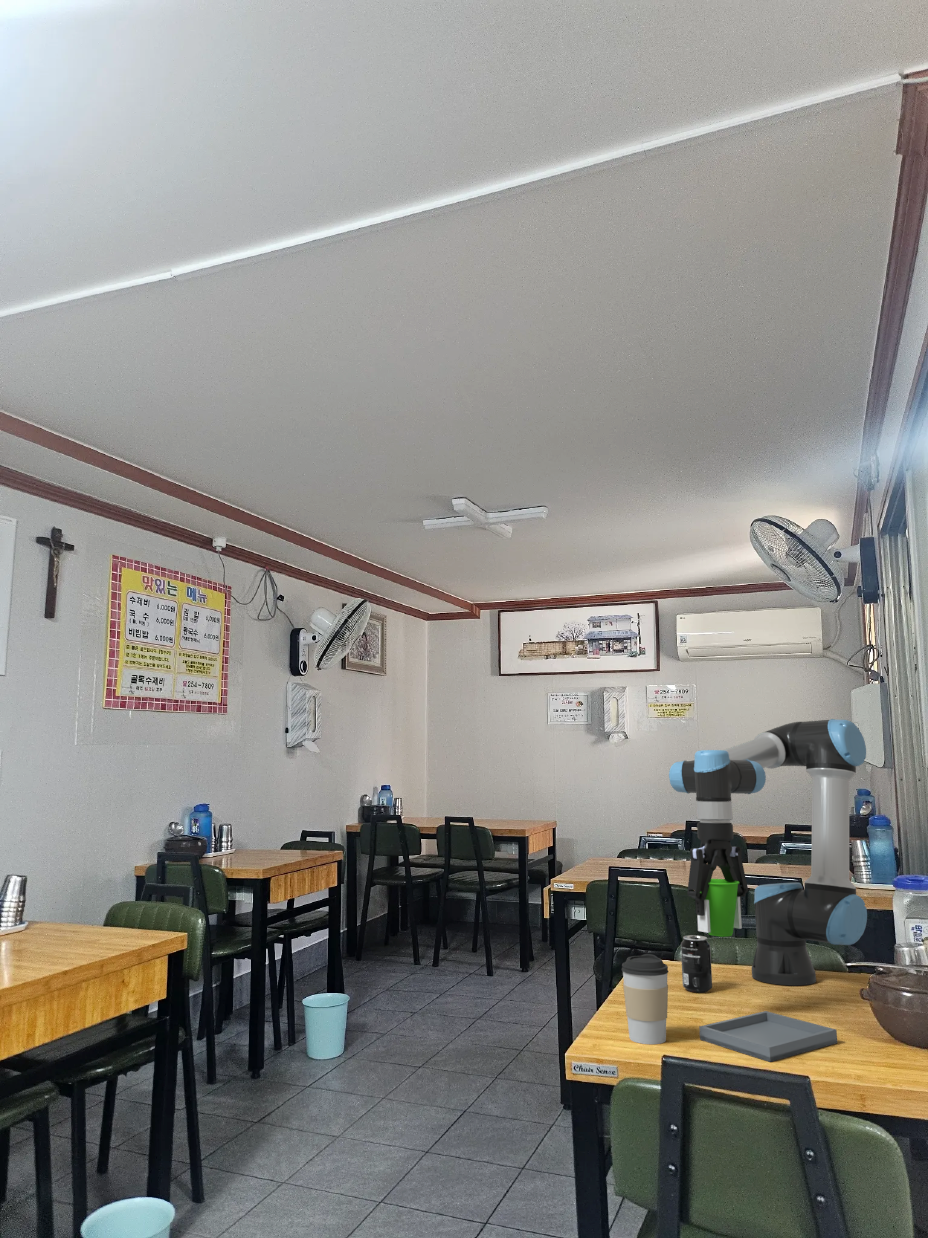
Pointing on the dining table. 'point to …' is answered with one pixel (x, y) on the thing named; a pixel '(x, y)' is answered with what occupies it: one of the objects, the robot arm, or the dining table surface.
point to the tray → (768, 1035)
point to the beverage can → (696, 964)
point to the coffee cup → (646, 998)
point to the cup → (722, 906)
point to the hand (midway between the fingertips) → (720, 929)
